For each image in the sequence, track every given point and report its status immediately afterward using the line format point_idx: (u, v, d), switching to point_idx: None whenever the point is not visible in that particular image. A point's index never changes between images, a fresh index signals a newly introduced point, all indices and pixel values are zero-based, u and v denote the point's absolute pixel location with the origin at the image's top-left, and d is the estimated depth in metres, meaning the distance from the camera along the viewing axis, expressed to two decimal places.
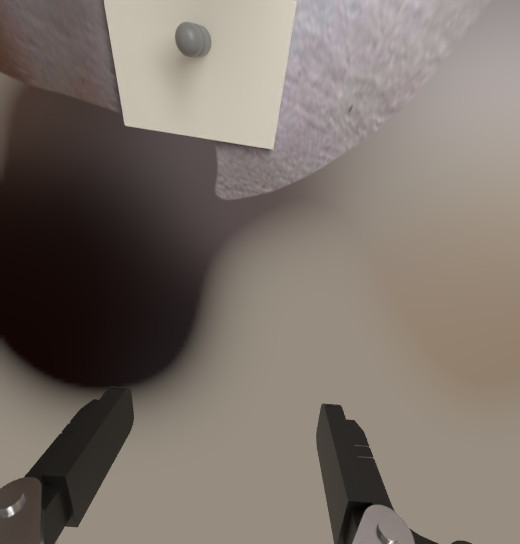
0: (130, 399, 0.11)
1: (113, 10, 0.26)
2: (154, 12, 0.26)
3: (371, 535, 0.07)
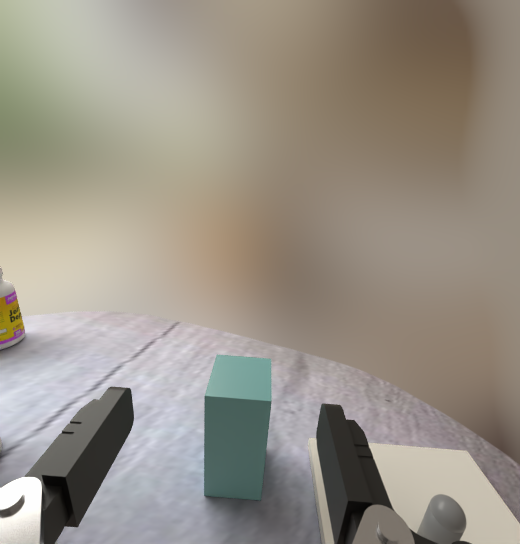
0: (130, 399, 0.11)
1: None
2: None
3: (371, 535, 0.07)
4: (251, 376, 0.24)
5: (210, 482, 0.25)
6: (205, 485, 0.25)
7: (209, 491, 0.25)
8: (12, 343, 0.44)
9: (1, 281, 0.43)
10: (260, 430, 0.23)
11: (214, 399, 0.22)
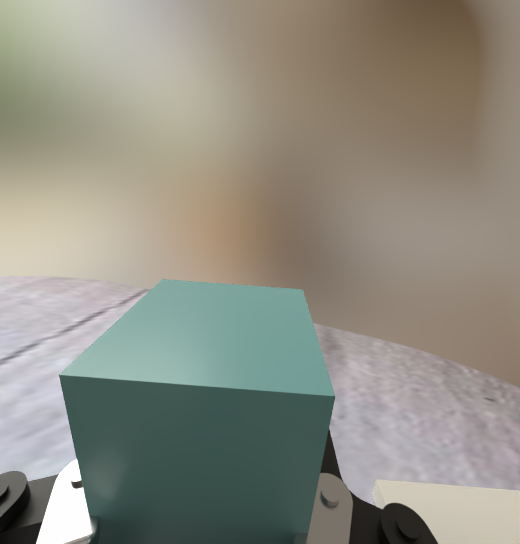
0: None
1: None
2: None
3: (316, 502, 0.07)
4: (251, 320, 0.08)
5: None
6: None
7: None
8: None
9: None
10: (285, 504, 0.06)
11: (100, 389, 0.05)
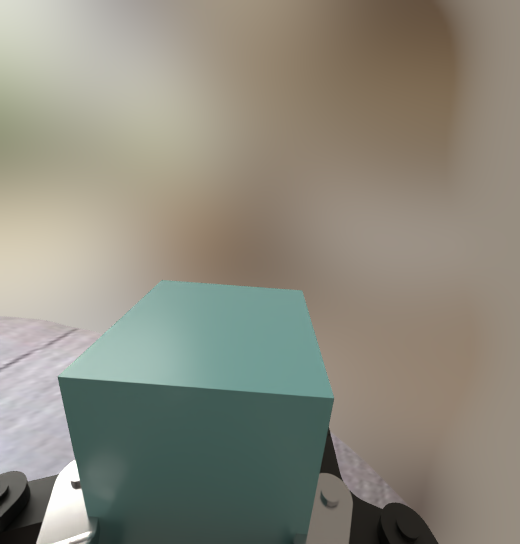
0: None
1: None
2: None
3: (316, 502, 0.07)
4: (250, 322, 0.08)
5: None
6: None
7: None
8: None
9: None
10: (284, 506, 0.06)
11: (99, 391, 0.05)
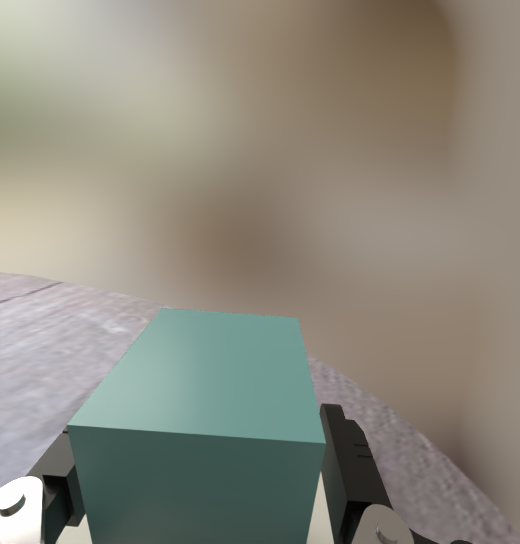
0: None
1: None
2: None
3: (371, 535, 0.07)
4: (248, 356, 0.08)
5: None
6: None
7: None
8: None
9: None
10: (280, 538, 0.07)
11: (105, 437, 0.06)
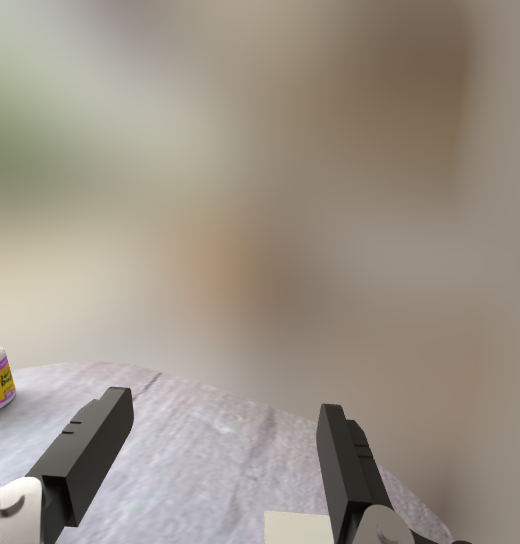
0: (130, 399, 0.11)
1: None
2: None
3: (371, 535, 0.07)
4: None
5: None
6: None
7: None
8: (3, 404, 0.48)
9: None
10: None
11: None
